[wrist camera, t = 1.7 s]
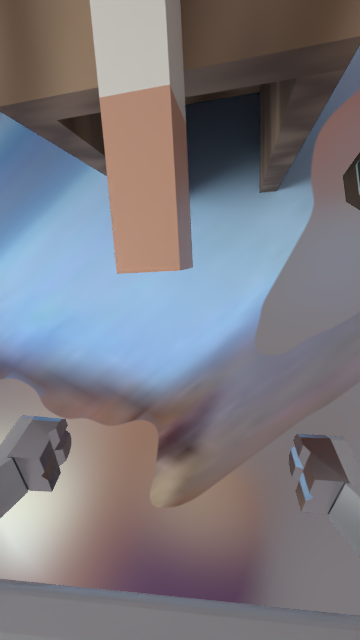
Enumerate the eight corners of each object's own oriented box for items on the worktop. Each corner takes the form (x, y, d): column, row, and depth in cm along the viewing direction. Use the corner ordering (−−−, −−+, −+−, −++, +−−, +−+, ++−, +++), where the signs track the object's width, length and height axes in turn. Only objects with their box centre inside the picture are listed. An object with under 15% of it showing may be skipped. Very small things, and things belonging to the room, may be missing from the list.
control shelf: (151, 203, 39) (-7, 107, 14) (144, 93, 36) (-70, -273, 11) (276, 190, 35) (365, 35, 10) (278, 68, 33) (401, -530, 8)
